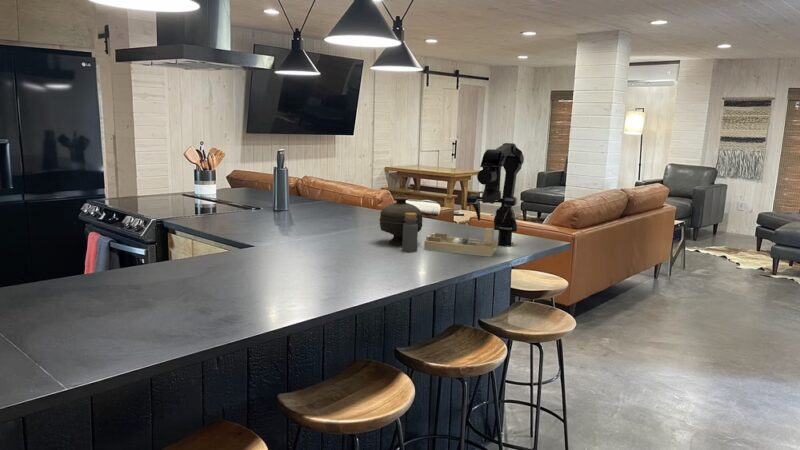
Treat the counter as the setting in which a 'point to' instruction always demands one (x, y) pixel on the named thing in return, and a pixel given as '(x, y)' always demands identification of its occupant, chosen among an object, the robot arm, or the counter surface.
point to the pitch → (462, 247)
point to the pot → (398, 219)
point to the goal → (437, 237)
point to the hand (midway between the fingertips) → (490, 221)
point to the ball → (456, 241)
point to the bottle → (410, 233)
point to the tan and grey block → (487, 238)
